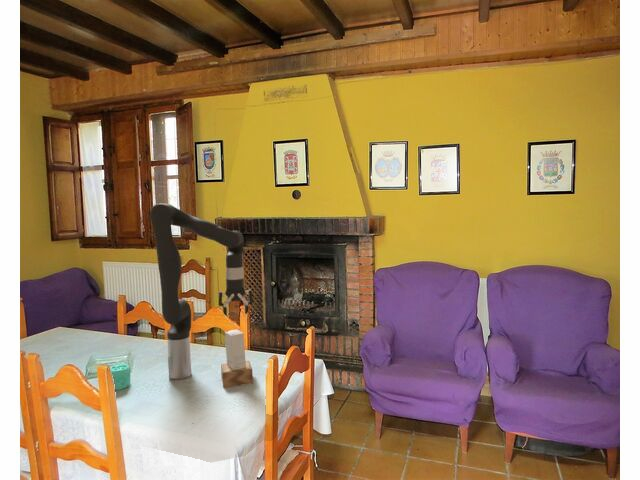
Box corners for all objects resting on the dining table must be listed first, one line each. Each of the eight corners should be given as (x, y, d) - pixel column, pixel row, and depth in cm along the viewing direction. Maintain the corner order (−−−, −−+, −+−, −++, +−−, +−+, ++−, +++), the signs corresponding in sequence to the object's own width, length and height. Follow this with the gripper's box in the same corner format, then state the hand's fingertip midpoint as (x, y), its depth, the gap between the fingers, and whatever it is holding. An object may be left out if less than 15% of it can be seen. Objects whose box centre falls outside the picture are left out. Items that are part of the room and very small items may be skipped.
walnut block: (223, 387, 171) (222, 372, 170) (221, 377, 181) (221, 363, 180) (252, 383, 175) (252, 368, 174) (249, 374, 184) (249, 360, 184)
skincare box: (246, 368, 175) (245, 333, 174) (232, 371, 172) (231, 335, 170) (239, 361, 182) (237, 328, 181) (225, 364, 179) (224, 330, 178)
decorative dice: (110, 384, 177) (108, 365, 176) (130, 380, 179) (129, 362, 179) (107, 391, 169) (106, 372, 168) (129, 388, 172) (128, 369, 171)
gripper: (218, 279, 174) (219, 318, 176) (252, 277, 178) (253, 315, 179) (217, 276, 181) (218, 313, 183) (250, 274, 185) (251, 311, 187)
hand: (236, 314), depth 181 cm, fingers open, 8 cm apart
